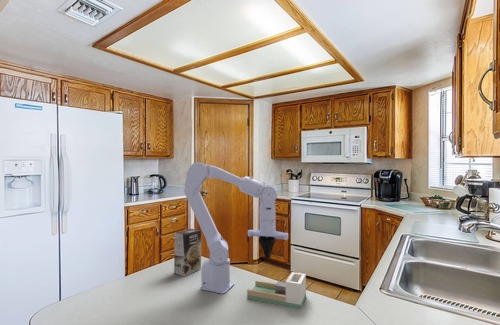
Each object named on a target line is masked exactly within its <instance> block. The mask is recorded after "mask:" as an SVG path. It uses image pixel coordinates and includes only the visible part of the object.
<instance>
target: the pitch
mask: <svg viewBox="0 0 500 325" xmlns="http://www.w3.org/2000/svg"><path fill="white" fill-rule="evenodd" d="M254 283H255V284H254V286H253V288H247V290H246V297H247V299H249V300H254V301H259V302H264V303H267V304H274V305H279V306H284V307H287V308H288V307H289V308H293V309H298V310H302V307H303V306H304V303H305V300H306V298H307V274H306V273H303V272H296V271H295V272H294V271H292V272H290V274H289V275H288V277H287V279H286V280H285V283H286V295H281V294H276V293H275V285H276V283H277V282H270V281H265V280H259V279H256V280H255V281H254Z"/></svg>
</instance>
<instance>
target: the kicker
mask: <svg viewBox="0 0 500 325" xmlns="http://www.w3.org/2000/svg"><path fill="white" fill-rule="evenodd" d="M275 283H276V285H275V293H276V294H281V295H286V281H285V282H283V281H277V282H275Z"/></svg>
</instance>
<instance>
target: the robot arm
mask: <svg viewBox="0 0 500 325" xmlns="http://www.w3.org/2000/svg"><path fill="white" fill-rule="evenodd" d="M207 178H208V179H219V180H222V181H225V182H227V183H230V184H232V185H235V186H237V187H238V188H239V192H241V193H243V194H246V195H249V196H251V197H253V198H256V199H257V198H259V211H258V214H259V220H258V221H259V229H248V230H247V237H257V238H258V237H259V238H258V242H259V244H260V246H261V248H262V251H263V255H264V259H265V260H269V259H270V258H271V255H272V252H273V248H274V245H275V243H276V241H277V240H284V241H285V240H286V241H288V240H289V233H288V232H282V231H278V230H276V228H277V226H276V217H277V216H276V213H277V212H276V200H277V198H278V194H277V190H276V189H275V188H274V187H273V186H270V185H269V184H266V182H264V181H262V182H261V181H259V180H257V179H254V177H253V176H252V175H250V176H244V177H240V176H237V175H235V174H233V173H231V172H229V171H226V170H225V169H222V168H220V167H219V166H215V165H210V164H206V163H203V162H200V161H197V162H194V163H192V164H190V166H189V168H188V170H187V171H186V174H185V184H184V190H183V191H184V192H183V193H184V195H185V198H186V199H187V202H188V203H189V205H190V208H191V210H192V212H193V214H194V216H195V218H196V220H197V223H198V225H199V227H200V230H201V233H202V234H203V236H204V238H205V241H206V245H207V248H208V250H209V259H205V260H204V261H203V263H202V264H201V269H200V271H201V272H200V273H201V280H200V281H201V283H200V284H201V286H200V287H199V289H200V290H204V291H207V292H212V293H213V292H214V293H218V294H223V295H224V294H226V293H227V292H228V291H229V290H230V289H231V288H233V287H234V286H235V282H232V281H230V280H231V270H230V269H231V266H230V265H231V259H230V258H229V254H230V253H229V244H228V241H226V240H225V239H224V238H223V236H222V235H221V233H220V232H219V231H218V229H217V226H216V224H215V222H214V219H213V217H212V215H211V214H210V212H209V209H208V207H207V205H206V202H205V201H204V198H203V197H202V193H201V192H200V191H201V188H202V186H203V183H204V182H205V181H206V180H207Z"/></svg>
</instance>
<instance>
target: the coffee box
mask: <svg viewBox="0 0 500 325" xmlns="http://www.w3.org/2000/svg"><path fill="white" fill-rule="evenodd" d="M173 249H174V251H173V252H174V259H173V264H174V265H173V273H174V274H175V273H176V274H175V275H178V276H182V277H186V276H189V275H191V274H193V272H194V273H195V271H196V272H198V271H200V270H201V269H202V229H197V228H196V229H194V228H188V229H185V230H180V231H176V232H174V248H173ZM199 269H200V270H199ZM197 270H198V271H197Z"/></svg>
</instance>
